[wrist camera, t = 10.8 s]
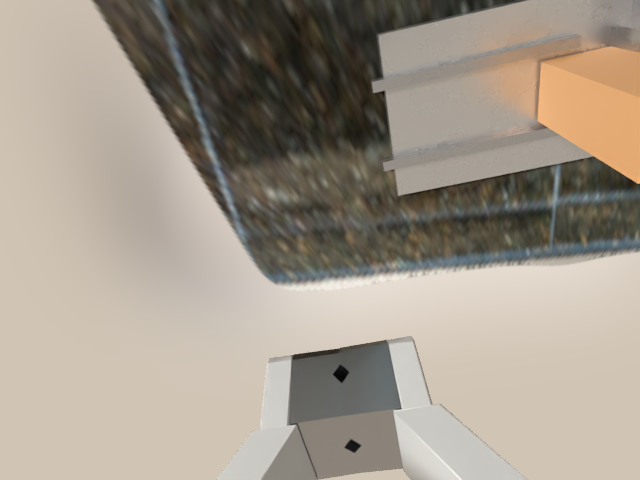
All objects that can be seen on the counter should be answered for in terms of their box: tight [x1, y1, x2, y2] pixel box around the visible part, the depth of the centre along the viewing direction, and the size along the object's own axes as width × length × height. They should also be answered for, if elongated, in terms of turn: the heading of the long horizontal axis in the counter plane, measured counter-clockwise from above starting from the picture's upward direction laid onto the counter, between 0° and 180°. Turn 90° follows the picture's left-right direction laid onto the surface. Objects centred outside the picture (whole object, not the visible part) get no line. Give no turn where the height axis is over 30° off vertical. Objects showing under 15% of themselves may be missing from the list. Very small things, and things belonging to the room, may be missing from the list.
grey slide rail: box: [370, 0, 640, 196], centre depth 32 cm, size 22×13×6 cm, turn 102°
